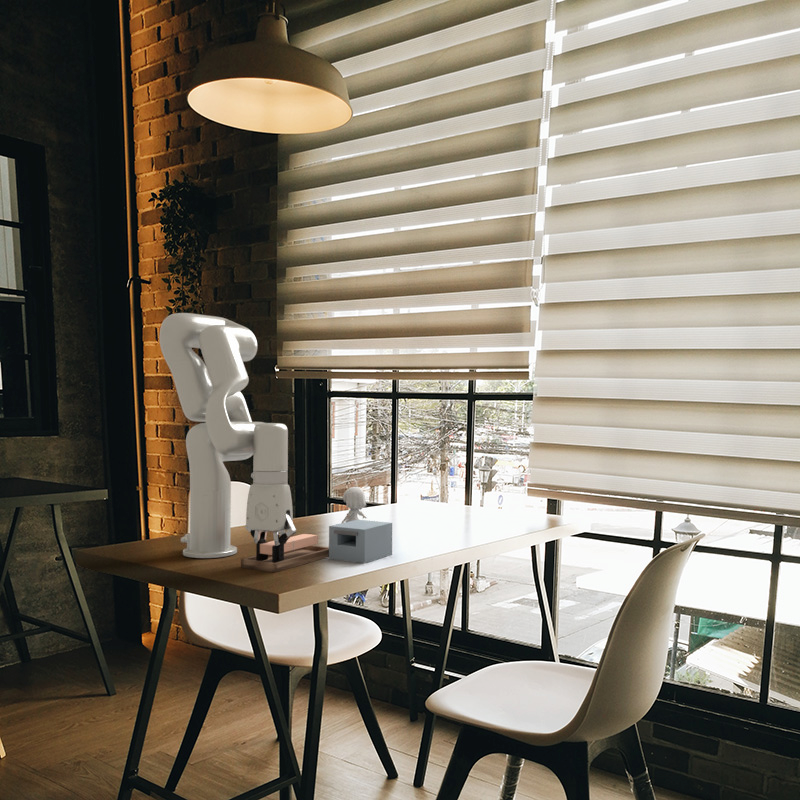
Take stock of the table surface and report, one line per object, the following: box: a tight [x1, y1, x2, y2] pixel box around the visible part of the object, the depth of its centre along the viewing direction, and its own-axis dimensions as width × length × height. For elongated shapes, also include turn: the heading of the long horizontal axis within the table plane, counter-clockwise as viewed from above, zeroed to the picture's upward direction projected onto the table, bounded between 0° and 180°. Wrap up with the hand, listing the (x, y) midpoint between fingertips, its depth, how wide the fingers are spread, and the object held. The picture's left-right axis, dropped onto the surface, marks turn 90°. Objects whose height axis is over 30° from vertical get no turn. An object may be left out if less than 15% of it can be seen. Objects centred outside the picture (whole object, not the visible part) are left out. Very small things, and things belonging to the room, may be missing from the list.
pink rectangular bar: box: [260, 533, 319, 555], centre depth 166 cm, size 4×16×2 cm, turn 150°
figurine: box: [341, 486, 367, 523], centre depth 187 cm, size 10×6×15 cm, turn 146°
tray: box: [240, 545, 329, 573], centre depth 166 cm, size 10×22×2 cm, turn 150°
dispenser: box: [328, 519, 393, 564], centre depth 171 cm, size 10×12×8 cm
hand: (270, 560), depth 160 cm, fingers closed on pink rectangular bar, 3 cm apart
